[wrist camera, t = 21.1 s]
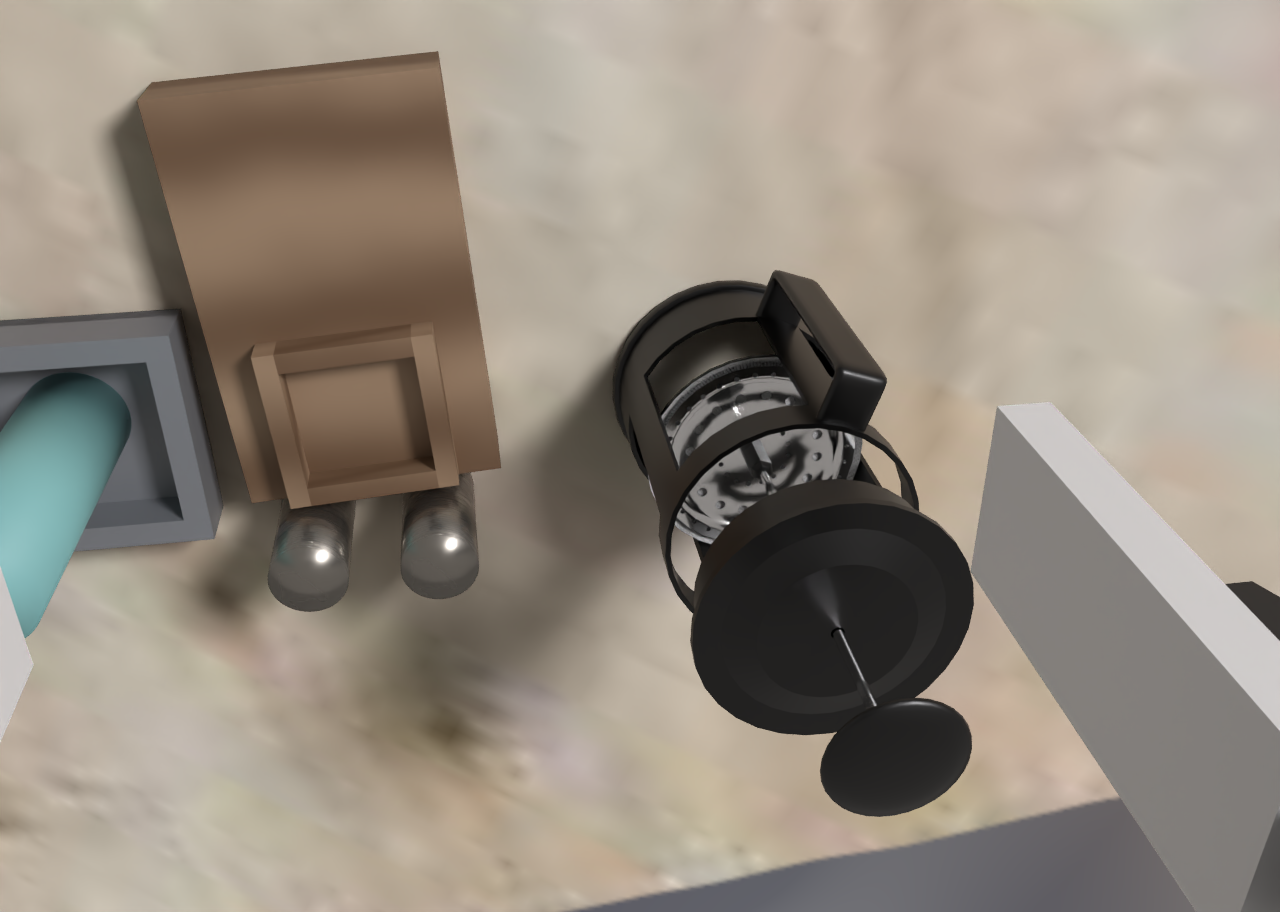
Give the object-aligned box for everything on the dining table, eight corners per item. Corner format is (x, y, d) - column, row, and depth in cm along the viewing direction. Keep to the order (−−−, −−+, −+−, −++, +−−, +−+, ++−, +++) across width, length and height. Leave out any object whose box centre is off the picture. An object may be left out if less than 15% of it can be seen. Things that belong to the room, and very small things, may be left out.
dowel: (15, 370, 46) (-112, 542, 36) (125, 373, 47) (33, 543, 36) (29, 462, 48) (-86, 650, 38) (136, 463, 49) (51, 649, 38)
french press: (774, 507, 55) (965, 923, 36) (579, 465, 53) (670, 890, 33) (878, 274, 50) (1168, 610, 31) (668, 214, 47) (838, 541, 28)
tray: (-69, 325, 45) (-93, 353, 43) (180, 308, 46) (168, 335, 44) (-2, 525, 50) (-22, 560, 48) (223, 505, 51) (214, 539, 49)
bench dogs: (278, 470, 50) (261, 551, 45) (470, 454, 51) (475, 532, 46) (289, 530, 52) (274, 615, 47) (476, 513, 53) (481, 595, 48)
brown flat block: (154, 79, 43) (129, 109, 39) (437, 48, 44) (439, 75, 40) (260, 465, 51) (248, 519, 47) (497, 432, 52) (502, 483, 48)
